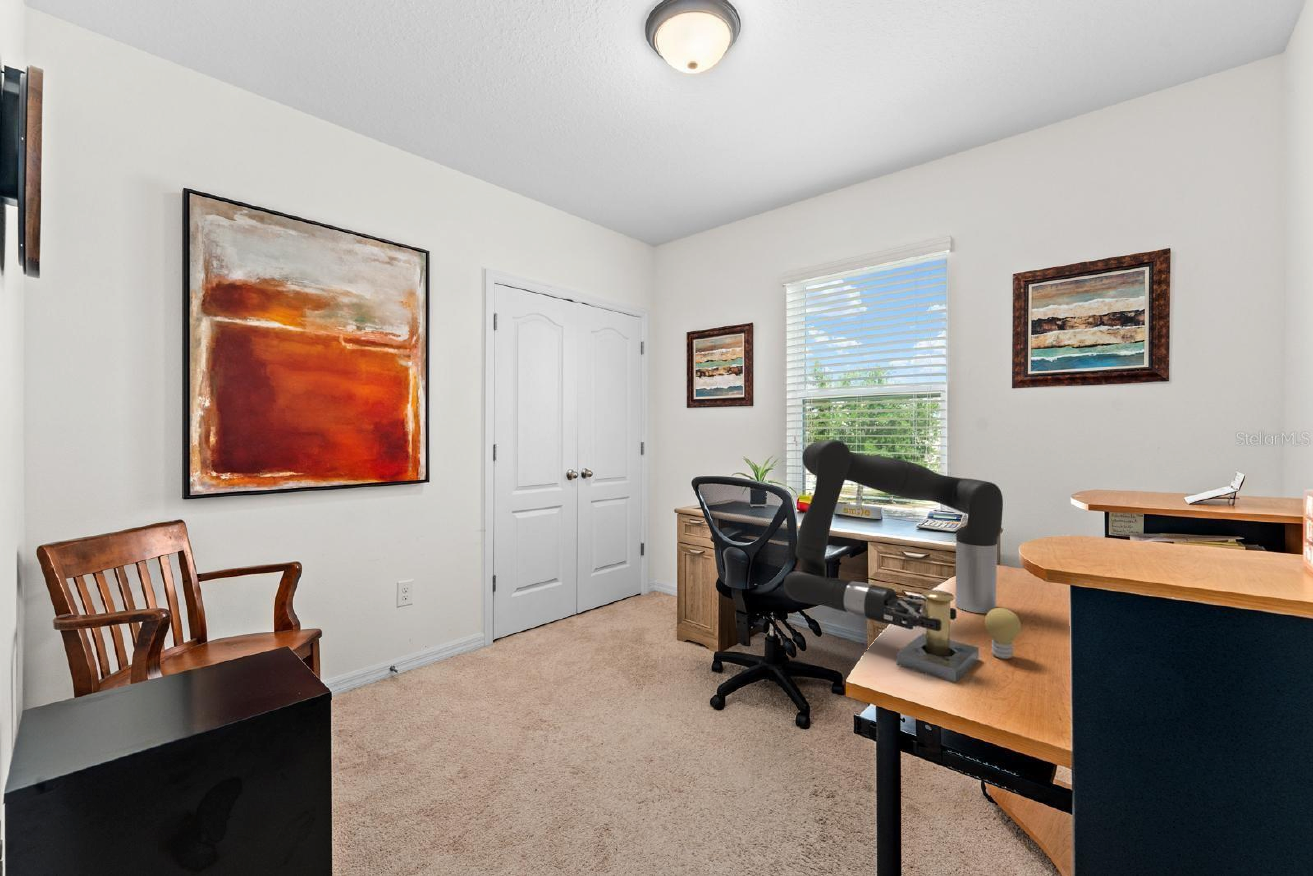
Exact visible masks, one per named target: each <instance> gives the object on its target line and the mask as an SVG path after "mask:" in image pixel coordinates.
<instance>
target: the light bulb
mask: <svg viewBox="0 0 1313 876" xmlns="http://www.w3.org/2000/svg"><path fill="white" fill-rule="evenodd" d="M984 625H985V628H986V631H987V632H988V633H989V635H990V636H991V637H992V639H991V653H992V655H994V657H997V658H999V659H1003V660H1008V659H1011V658H1013V656H1014V653H1013V651H1014V649H1013V647H1014V643H1013V641H1014V640H1015V639H1016V638H1017V637H1018V636H1019V634H1020V632H1021V629H1022V623H1021V621H1020V618H1019V617H1018V615H1017V614H1016V613H1014V612H1013V611H1012V610H1009V609H1008V608H1004V607H996V608H995V609H992V610H990V611H989V612H988V613H986V615H985V618H984Z"/></svg>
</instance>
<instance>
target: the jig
mask: <svg viewBox="0 0 1313 876" xmlns="http://www.w3.org/2000/svg"><path fill="white" fill-rule="evenodd" d="M979 650H980V648H979V647H978V646H974V645H970V644H966V643H964V642H963V643H962V642H958V641H955V640H951V639H950V656H944V657H939V656H936V655H932V654H929V653H926V633H924V632H923V633H922V634H920V635H919V636H917V637H916V638H914V639H913V640H912V641H910V642H909V643H908V644H907V645H905V646H903V648H901V649H900V650H899V651H897V652H896V665H897V666H899V665H901V666H900V667H902V666H904V667H903V668H905V667H906V669H909V668H911V669H910V670H912V669H915V670H917V671H916V672H918V671H920V672H919V673H921V674H925V673H927V674H926V675H928V674H929V675H928V676H931V675H932V676H931V677H934V678H938V679H941V678H942V680H945V681H948V682H951V683H954V682H955V683H954V684H956V683H957V682H958V681H959V680H960V679H961V678H963V676H964V675H965V674H966V673H967V672H968V671H969V670H970V669H971V668H972V667H973V666H975V664H977V662H978V661H979V660H978V659H980V655H979V654H980V651H979ZM915 670H914V671H915Z"/></svg>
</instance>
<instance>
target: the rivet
mask: <svg viewBox="0 0 1313 876" xmlns="http://www.w3.org/2000/svg"><path fill="white" fill-rule="evenodd" d="M922 597H923V598H926V616H927V617H932V618H936V619H940V620H941V622H942V628H941V630H940V631H935V630H931V629H927V628H925V634H926V653H929V654H932V655H936V656H939V657H944V656H950V640H951V619H950V608H951V602H952V601H953V600H954V598H955V597H954V595H953V594H952V593H951V592H948V591H944V590H938V589H928V590H923V592H922Z"/></svg>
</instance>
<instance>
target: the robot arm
mask: <svg viewBox="0 0 1313 876" xmlns="http://www.w3.org/2000/svg"><path fill="white" fill-rule="evenodd" d="M801 457H802V463H803V465H804V467H805V469H806V470H807V471H808V472H809V473H810V474H812V475H814V476H815V477H816V483H815V488H814V493H813V495H812V499H811V501H810V503H809V505H808V507H807V509H806V511H805V513H804V515H803V517H802V521H801V523H800V527H799V530H798V535H797V539H796V541H797V542H796V547H795V555H796V558H798V560H800V570H795V571H791V572H789V573H788V574H787V575H786V577H785V578H784V579H783V580H784V581H783V589H784V592H785V593H786V595H787V596H788V597H789V598H790V599H792V600H794V601H796V602H800V603H804V604H809V605H816V606H817V605H818V606H824V607H827V608H829V609H830V608H831V609H834V610H837V611H842V612H844V613H849V614H851V615H853V616H857V617H860V618H863V619H868V620H871V621H875V622H879V623H882V624H886V625H888V624H889V625H894V626H896V627H900V628H902V629H903V628H904V629H907V630H913V629H914V628H916V629H917V628H918V629H919V628H923V629H926V628H927V629H931V630H935V631H940V630H941V628H942V622H941V620H940V619H936V618H932V617H927V616H926V598H925V597H924V596H917V595H913V594H909V595H907V597H903V598H900V597H898V594H897V592H896V591H895V590H894V589H893V588H891V587H885V586H881V585H876V584H874V583H873V584H871V583H867V582H860V581H852V580H849V579H848V580H847V579H843V578H839V577H838V578H837V577H826V574H827V573H826V561H825V560H826V559H825V558H826V553H827V548H828V542H829V538H830V532H831V531H830V530H831V527H832V522H833V518H834V516H835V515H834V514H835V510H836V507H837V504H838V500H839V499H840V496H841V495H840V494H841V491H842V489H843V486H844V484H845V481H848V482H852V483H855V484H859V485H862V486H863V487H866V488H869V489H872V490H875V491H878V492H880V493H881V492H882V493H885V494H888V495H891V496H896V497H898V498H899V497H900V498H903V499H909V500H917V501H930V502H934V503H937V504H941V505H942V506H946V507H949V508H951V509H953V510H956V511H958V512H960V513H963V514H965V515H966V514H967V523H966V525H965V526H964V527H960V528H958V529H957V530H956V532H955V597H954V598H955V603H954V604H955V605H954V606H956V607H957V608H958V609H960V610H962V609H963V610H962V611H965V610H966V612H969V613H975V614H976V613H977V614H987V613H988V612H989V611H990V610H992V609H995V608H997V582H998V581H997V579H998V573H997V572H998V571H997V570H998V538H999V536H1000V534H1001V531H1002V521H1003V510H1004V508H1003V507H1004V500H1003V493H1002V491H1001V489H1000V487H999V486H998V485H997V484H995V483H994V482H991V481H986V480H980V479H976V478H975V479H974V478H964V477H955V476H950V475H943V474H940V473H936V472H934V470H931V469H930V468H927V467H926V466H923V465H920V464H918V463H915V462H911V461H907V460H904V459H899V458H896V457H889V456H882V455H873V454H862V453H856V452H854V451H853V452H852V451H850V449H849V447H848V446H847V444H846V443H844V442H843V441H841V440H839V439H822V440H817V441H814V442H812V443H810V444H809V445H807V446H806V447H805V448H804V450H803V452H802V456H801ZM956 619H957V609H956V608H954V607H950V620H952V621H954V620H956Z"/></svg>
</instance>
